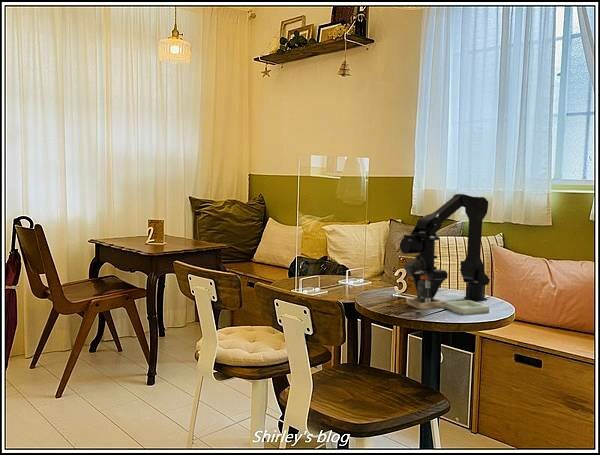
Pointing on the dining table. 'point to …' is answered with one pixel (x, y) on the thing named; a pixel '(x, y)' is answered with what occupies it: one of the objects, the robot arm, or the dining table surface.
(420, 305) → the socket collar
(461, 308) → the tray
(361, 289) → the dining table surface
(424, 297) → the pill bottle
